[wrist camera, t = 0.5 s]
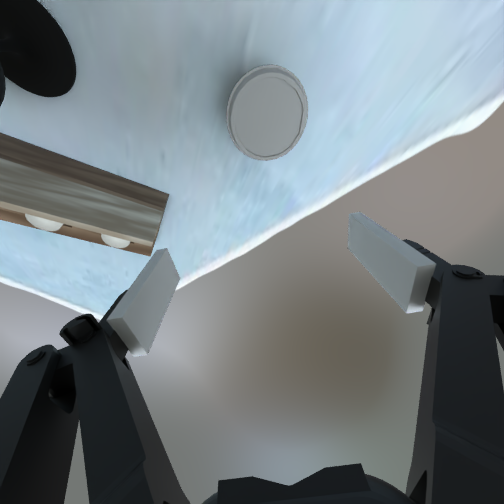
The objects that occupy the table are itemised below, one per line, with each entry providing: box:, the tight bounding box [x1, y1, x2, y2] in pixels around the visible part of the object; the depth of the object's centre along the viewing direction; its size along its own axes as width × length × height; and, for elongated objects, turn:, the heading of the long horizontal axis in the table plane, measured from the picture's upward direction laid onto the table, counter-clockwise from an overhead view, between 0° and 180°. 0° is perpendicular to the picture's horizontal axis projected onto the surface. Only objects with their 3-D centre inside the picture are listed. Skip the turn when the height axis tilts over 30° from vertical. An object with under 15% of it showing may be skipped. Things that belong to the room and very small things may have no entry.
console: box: [0, 133, 169, 256], centre depth 34 cm, size 12×32×14 cm, turn 62°
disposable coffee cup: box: [226, 65, 308, 161], centre depth 28 cm, size 10×10×12 cm
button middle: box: [25, 214, 63, 231], centre depth 35 cm, size 4×4×4 cm
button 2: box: [101, 234, 130, 248], centre depth 39 cm, size 4×4×4 cm
